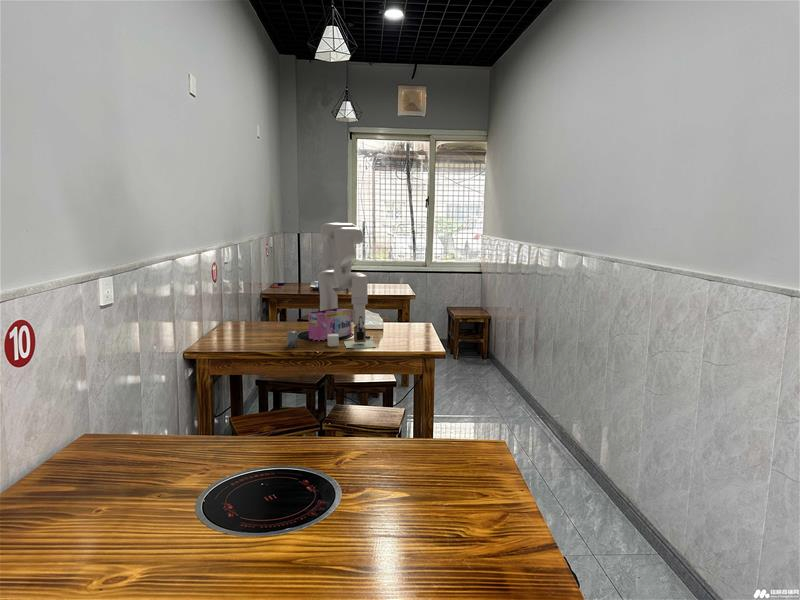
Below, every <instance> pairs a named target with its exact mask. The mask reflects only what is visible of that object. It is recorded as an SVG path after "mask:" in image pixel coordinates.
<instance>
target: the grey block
mask: <svg viewBox="0 0 800 600" xmlns="http://www.w3.org/2000/svg"><path fill="white" fill-rule="evenodd" d="M339 339H340V337H339V335H338V334H327V340H326V341H327V347H328V346H329V347H339V346H340V345H339V343H340V341H339ZM331 345H332V346H331ZM333 345H334V346H333Z"/></svg>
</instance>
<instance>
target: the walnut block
mask: <svg viewBox="0 0 800 600" xmlns="http://www.w3.org/2000/svg"><path fill="white" fill-rule="evenodd" d="M359 327H360V326H359ZM363 331H364V340H357V332H358V331H357V326H355V325H354V326H353V341H354V342H355V343H360V342H366V341H367V340H366V339H367V338H366V334H367V333H366V332H367V331H366V326H365V325H363Z"/></svg>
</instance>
